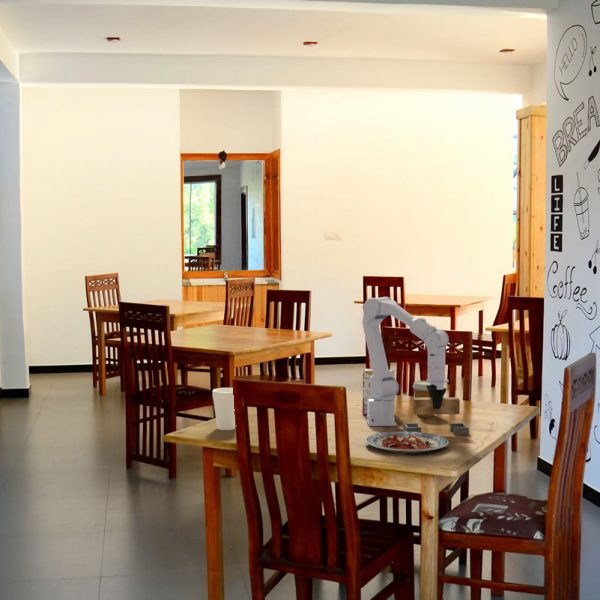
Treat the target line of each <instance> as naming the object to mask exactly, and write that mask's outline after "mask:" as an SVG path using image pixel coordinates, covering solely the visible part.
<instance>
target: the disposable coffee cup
mask: <svg viewBox="0 0 600 600" xmlns="http://www.w3.org/2000/svg"><path fill="white" fill-rule="evenodd" d="M426 385H431V384H430V383H427V380H417V381H414V382H413V385H412V388H413V393H414V398H430V396H429V392H428V389H427V387H426ZM416 416H418V417H420V418H421V417H422V418H430V417H434V416H435V414H425V415H416Z"/></svg>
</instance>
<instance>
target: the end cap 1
mask: <svg viewBox="0 0 600 600" xmlns="http://www.w3.org/2000/svg"><path fill="white" fill-rule="evenodd" d="M402 427H403V428H402V430H403V431H408V432H422V426H421V427H420V426H419V424H418V422H409V423H408V422H404V423H402Z"/></svg>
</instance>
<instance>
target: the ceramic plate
mask: <svg viewBox="0 0 600 600" xmlns="http://www.w3.org/2000/svg"><path fill="white" fill-rule="evenodd" d="M365 443H366V444H368V446H371V447H374V448H378V449H382V450H384V451H387V452H391V451H392V452H391V453H398V452H400V453H401V454H419V452H421V453H426V451H427V452H430V450H431V451H434V450H439V449H442V448H445V447H447V446H448V445H449V440H448V439H447V438H445V437H443V436H440V435H437V434H434V433H428V432H422V431H421V432H408V431H400V430H398V431H386V432H385V431H384V432H383V431H382V432H378V433H374V434H373V433H372V434H371V435H368V436H367V437H366V438H365Z"/></svg>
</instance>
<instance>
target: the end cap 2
mask: <svg viewBox="0 0 600 600" xmlns="http://www.w3.org/2000/svg"><path fill="white" fill-rule="evenodd" d="M469 428H470V427H469V426H468V425H467V424H466V423H465V422H449V431H450V432H453V435H454V436H469V435H470V434H469V433H470V431H469V430H470V429H469Z"/></svg>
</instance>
